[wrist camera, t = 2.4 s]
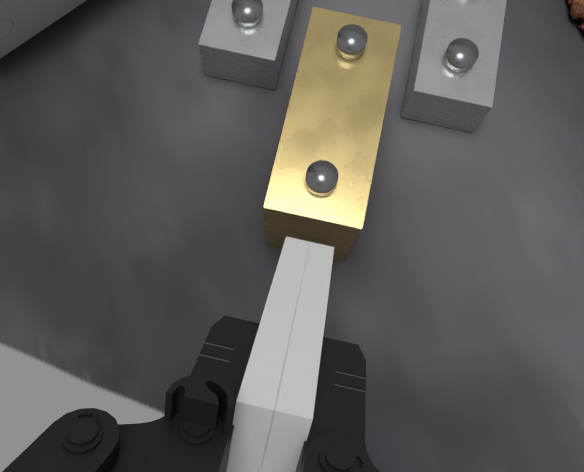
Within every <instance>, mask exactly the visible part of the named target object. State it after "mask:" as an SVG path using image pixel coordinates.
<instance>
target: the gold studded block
mask: <svg viewBox="0 0 584 472" xmlns="http://www.w3.org/2000/svg"><path fill="white" fill-rule="evenodd" d="M400 31H401V25H398V24H394V23H389V22H384V21H379V20H374V19H370V18H365V17H360V16H355V15H350V14H346V13H341V12H336V11H331V10H326V9H322V8H317V7H313V9H312V13H311V17H310V21H309V25H308V29H307V34H306V38H305V42H304V46H303V50H302V54H301V58H300V62H299V66H298V70H297V74H296V78H295V82H294V86H293V90H292V94H291V98H290V102H289V106H288V110H287V114H286V118H285V122H284V126H283V130H282V134H281V138H280V142H279V146H278V150H277V154H276V158H275V162H274V166H273V170H272V174H271V178H270V182H269V187H268V191H267V195H266V199H265V203H264V207H263V210H264V221H265V233H266V245H269V246H273V247H278V248H283V245H284V242H285V238H286V237H291V238H295V239H300V240H304V241H309V242H313V243H318V244H322V245H327V246H331V247H334V254H333V260H336V261H340V262H342V261H343V260H344V258H345V257H346V255H347V253H348V252H349V250H350V248H351V247H352V245H353V244H354V242H355V240H356V239H357V237H358V235H359V234H360V232H361V230H362V228H363V223H364V218H365V212H366V207H367V202H368V197H369V192H370V187H371V181H372V176H373V171H374V166H375V161H376V155H377V150H378V145H379V140H380V135H381V129H382V124H383V119H384V114H385V109H386V103H387V98H388V93H389V88H390V83H391V77H392V72H393V67H394V62H395V57H396V51H397V46H398V41H399V36H400Z"/></svg>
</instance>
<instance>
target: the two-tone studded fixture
mask: <svg viewBox="0 0 584 472" xmlns="http://www.w3.org/2000/svg"><path fill="white" fill-rule="evenodd" d="M506 1H507V0H422V5H421V11H420V16H419V21H418V27H417V32H416V38H415V43H414V48H413V54H412V59H411V64H410V70H409V75H408V81H407V86H406V91H405V97H404V102H403V107H402V113H401V118H406V119H410V120H415V121H420V122H424V123H429V124H433V125H438V126H443V127H447V128H452V129H457V130H461V131H466V132H470V133H471V132H472V131H473V130H474V129H475V128H476V126H477V125H478V124H479V123H480V122H481V120H482V119H483V118H484V117H485V116H486V114H487V113H488V112H489V111H490V109H491V108H492V105H493V97H494V90H495V82H496V75H497V68H498V60H499V53H500V45H501V38H502V30H503V23H504V15H505V8H506ZM297 4H298V0H212V2H211V5H210V9H209V12H208V15H207V18H206V21H205V24H204V28H203V31H202V34H201V37H200V40H199V44H198V45H199V50H200V54H201V58H202V62H203V66H204V70H205V74H206V75H207V76H212V77H216V78H221V79H226V80H230V81H235V82H240V83H244V84H249V85H253V86H258V87H263V88H267V89H272V90H275V88H276V84H277V80H278V76H279V72H280V69H281V65H282V61H283V57H284V53H285V49H286V46H287V42H288V38H289V34H290V30H291V27H292V23H293V19H294V15H295V11H296V7H297Z"/></svg>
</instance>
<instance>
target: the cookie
mask: <svg viewBox="0 0 584 472" xmlns="http://www.w3.org/2000/svg"><path fill="white" fill-rule="evenodd" d="M567 1H568V5H569V6H570V8H571V12H570V15H571V17H572V18H573V19H577V20H578V21H581V24H580V25H579V26H578V28H580V29H582V30H583V31H584V0H567Z"/></svg>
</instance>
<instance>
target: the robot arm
mask: <svg viewBox="0 0 584 472" xmlns="http://www.w3.org/2000/svg"><path fill="white" fill-rule="evenodd" d="M333 254H334V247H331V246H327V245H322V244H318V243H313V242H309V241H304V240H300V239H295V238H291V237H286V238H285V242H284V245H283V248H282V252H281V255H280V258H279V262H278V265H277V268H276V272H275V275H274V278H273V282H272V285H271V288H270V291H269V295H268V298H267V301H266V305H265V308H264V311H263V315H262V318H261V321H260V324H259V323H255V322H250V321H246V320H241V319H237V318H233V317H228V316H224V317H223V318H221V319H220V320H219V321H218V322H217V323H215V324H214V325H213V326H212V327H211V329H210V331H209V334H208V336H207V338H206V341H205V344H204V345H203V348H202V350H201V352H200V356H199V357H198V359H197V362H196V364H195V366H194V369H193V371H192V373H191V376H186V377H183V378H181V379H180V380H178V381H176V382H175V383H173V384H172V386H171V387H170V388H169V389H168V391H167V392H166V402H165V416H164V417H162V418H160V419H158V420H155V421H152V422H147V423H141V424H124V425H118V424H117V421H116V419H115V418H114V417H113V416H111V415H110V414H109V413H107V412H106V411H102V410H99V409H95V408H89V409H78V410H75V411H73V412H70V413H67V414H65V415H63V416H62V417H61V418H59V419H58V420H56V421H55V422H54V423H53V424H52V425H51V426H50V427H49V428H47V429H46V430H45V431H44V432H43V433H42V434H41V435H40V436H39V437H38V438H37V439H36V440H35V441H34V442H33V443H32V444H31V445H30V446H29V447H28V448H27V449H26V450H25V451H24V452H22V453H21V455H20V456H19V457H17V458H16V459H15V460H14V461H13V462H12V463H11V464H10V465H9V466H8V467H7V468H6V469H5V470H4V471H3V472H379V471H378V470H377V469H376V468H375V466H374V465H373V463H372V462H371V460H370V459H369V456H368V454H367V451H366V446H365V394H366V393H365V390H366V380H365V378H366V360H365V358H364V356H363V354H362V352H361V350H360V348H359V346H358V345H356V344H352V343H348V342H343V341H339V340H334V339H330V338H326V337H323V334H324V326H325V318H326V310H327V302H328V294H329V286H330V278H331V270H332V262H333Z"/></svg>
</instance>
